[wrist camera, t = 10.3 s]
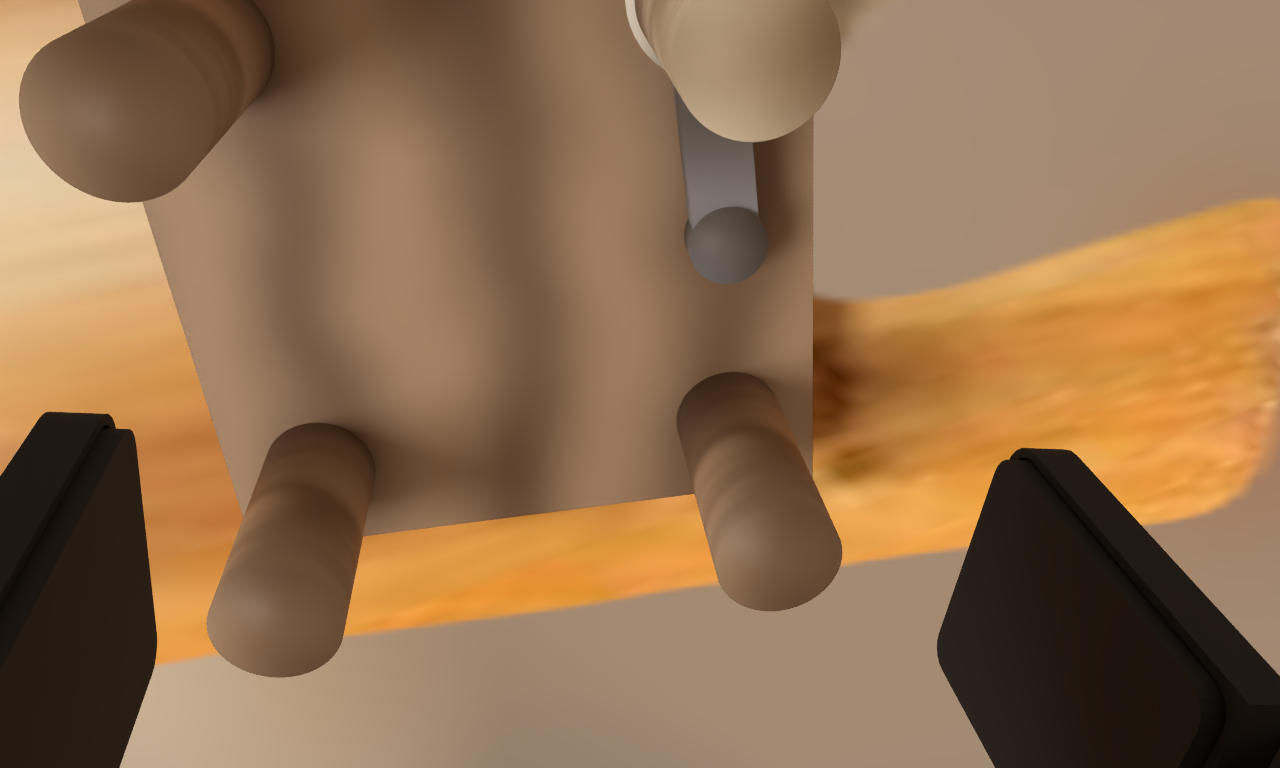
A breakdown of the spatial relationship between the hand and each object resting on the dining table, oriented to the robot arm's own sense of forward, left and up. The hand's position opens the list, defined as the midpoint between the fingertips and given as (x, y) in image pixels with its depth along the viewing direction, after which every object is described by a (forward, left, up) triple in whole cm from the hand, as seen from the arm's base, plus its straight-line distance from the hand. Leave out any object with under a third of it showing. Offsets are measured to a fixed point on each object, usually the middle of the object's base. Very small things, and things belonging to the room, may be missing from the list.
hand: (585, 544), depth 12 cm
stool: (+2, -5, -24) cm, 25 cm away
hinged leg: (+5, +2, -21) cm, 22 cm away
